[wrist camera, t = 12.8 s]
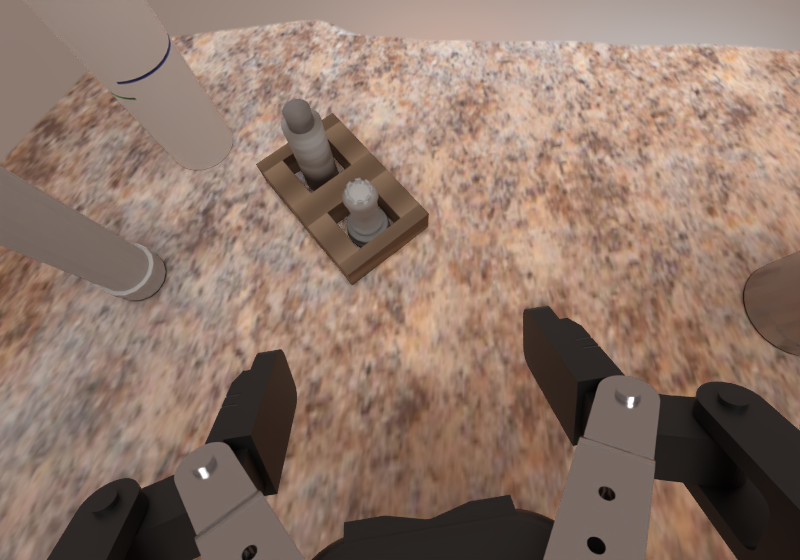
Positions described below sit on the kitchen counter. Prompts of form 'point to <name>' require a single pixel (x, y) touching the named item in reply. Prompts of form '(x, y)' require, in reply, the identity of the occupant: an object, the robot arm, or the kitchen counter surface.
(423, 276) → the kitchen counter surface
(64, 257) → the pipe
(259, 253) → the kitchen counter surface
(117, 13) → the cylindrical container
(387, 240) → the holder
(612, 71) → the kitchen counter surface
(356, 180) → the rook chess piece
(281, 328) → the kitchen counter surface
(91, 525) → the robot arm
